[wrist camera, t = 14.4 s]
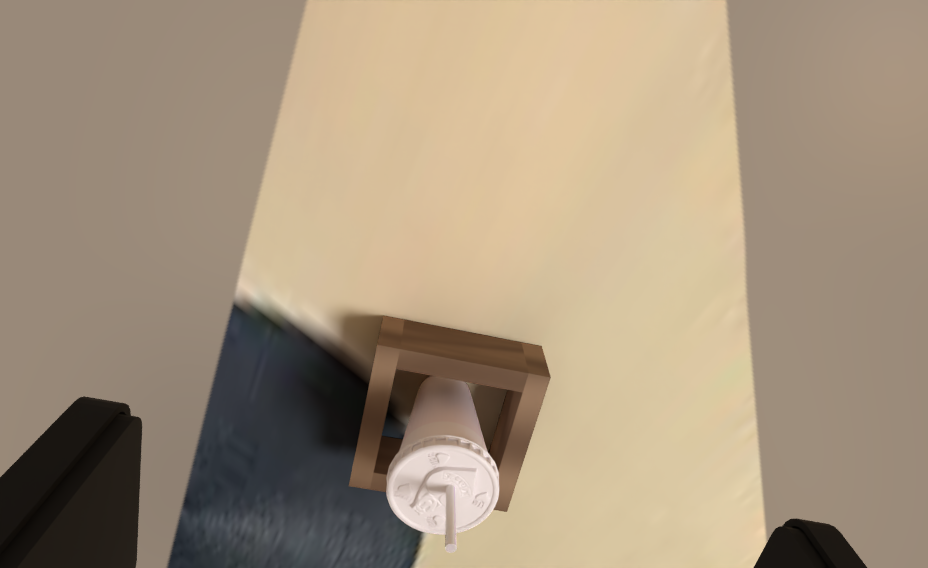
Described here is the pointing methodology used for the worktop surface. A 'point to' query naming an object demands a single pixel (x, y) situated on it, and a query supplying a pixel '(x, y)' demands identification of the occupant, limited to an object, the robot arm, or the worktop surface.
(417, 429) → the smoothie
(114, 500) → the robot arm
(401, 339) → the wooden frame
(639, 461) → the worktop surface
